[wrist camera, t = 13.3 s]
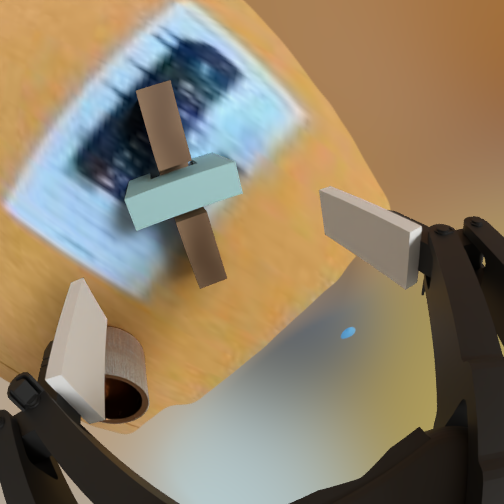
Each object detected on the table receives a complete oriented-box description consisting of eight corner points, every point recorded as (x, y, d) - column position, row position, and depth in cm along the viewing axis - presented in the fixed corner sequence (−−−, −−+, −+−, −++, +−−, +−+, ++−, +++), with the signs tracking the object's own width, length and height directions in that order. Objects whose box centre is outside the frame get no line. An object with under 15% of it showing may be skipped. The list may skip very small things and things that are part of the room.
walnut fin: (187, 256, 37) (200, 288, 30) (138, 99, 27) (135, 91, 20) (210, 248, 38) (227, 278, 31) (164, 91, 28) (170, 80, 21)
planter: (145, 376, 42) (152, 424, 34) (80, 375, 38) (77, 423, 30) (143, 324, 39) (148, 373, 30) (69, 321, 34) (59, 370, 26)
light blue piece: (137, 204, 32) (136, 231, 24) (129, 180, 31) (124, 199, 23) (218, 176, 34) (242, 193, 27) (212, 152, 33) (235, 161, 25)
